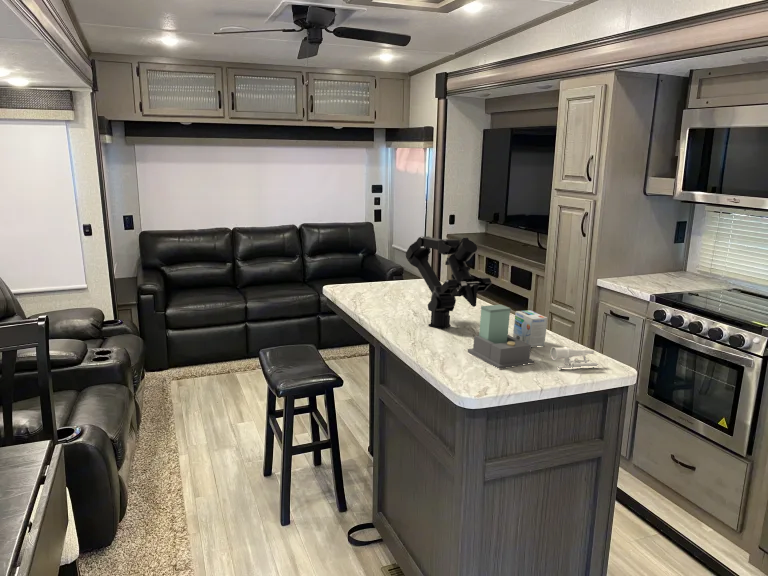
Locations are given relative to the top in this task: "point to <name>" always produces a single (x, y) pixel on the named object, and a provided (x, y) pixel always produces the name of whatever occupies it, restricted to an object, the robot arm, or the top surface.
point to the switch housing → (502, 352)
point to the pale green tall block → (494, 323)
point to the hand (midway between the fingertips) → (474, 306)
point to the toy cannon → (568, 352)
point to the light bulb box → (530, 328)
